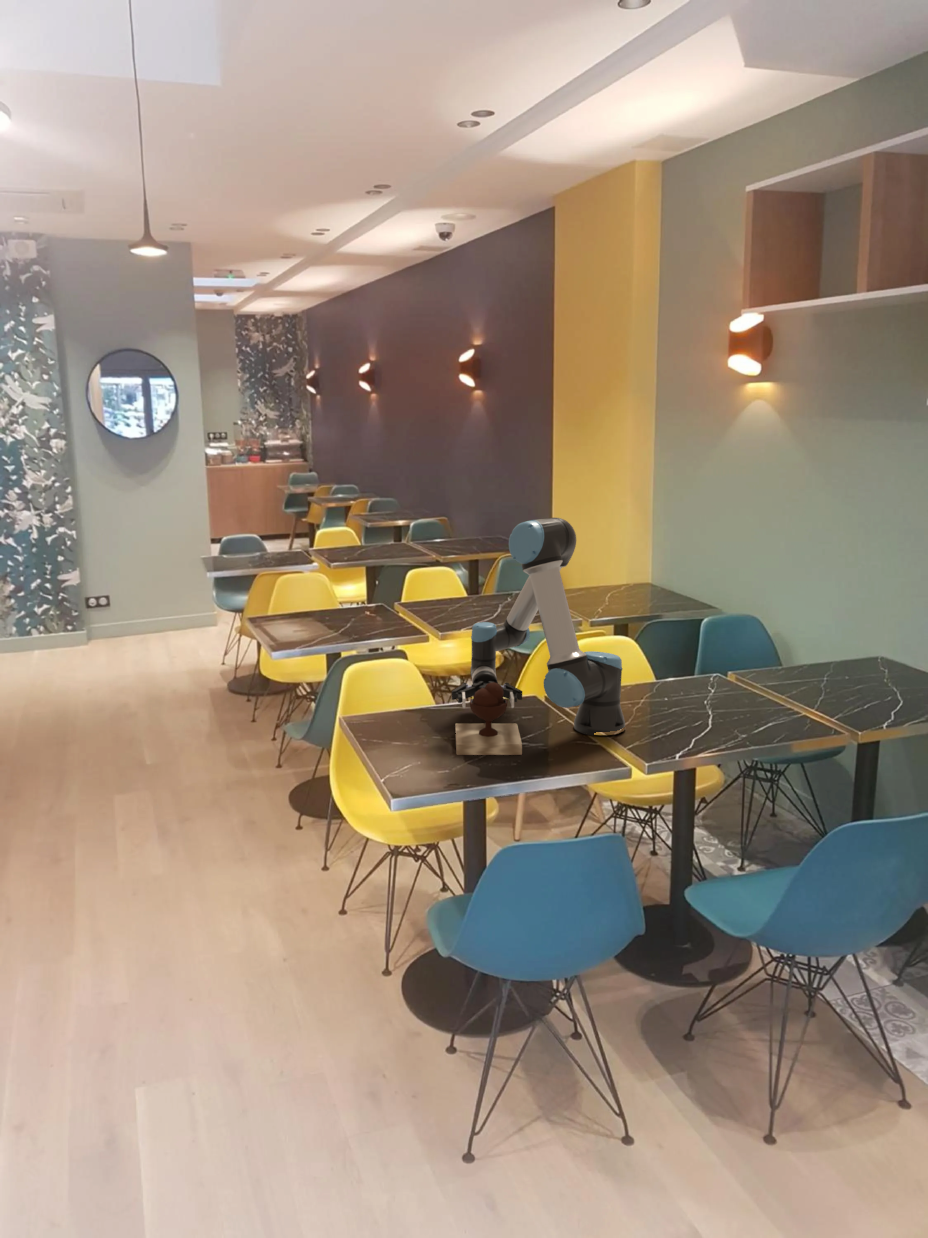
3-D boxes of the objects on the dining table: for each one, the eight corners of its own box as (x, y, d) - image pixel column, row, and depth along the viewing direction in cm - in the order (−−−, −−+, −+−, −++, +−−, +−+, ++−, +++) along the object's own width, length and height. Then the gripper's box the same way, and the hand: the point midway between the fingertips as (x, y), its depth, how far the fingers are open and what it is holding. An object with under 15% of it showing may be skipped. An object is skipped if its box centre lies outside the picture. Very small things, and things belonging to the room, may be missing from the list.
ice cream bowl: (493, 725, 286) (493, 675, 283) (514, 736, 277) (515, 684, 274) (462, 731, 281) (462, 680, 277) (483, 742, 271) (483, 690, 268)
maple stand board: (516, 733, 288) (516, 723, 288) (521, 754, 271) (522, 744, 270) (455, 733, 288) (455, 723, 287) (456, 754, 270) (456, 744, 270)
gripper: (526, 694, 296) (532, 716, 275) (443, 694, 295) (443, 716, 274) (526, 670, 294) (533, 690, 273) (443, 670, 293) (443, 690, 273)
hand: (488, 703), depth 274 cm, fingers open, 13 cm apart
